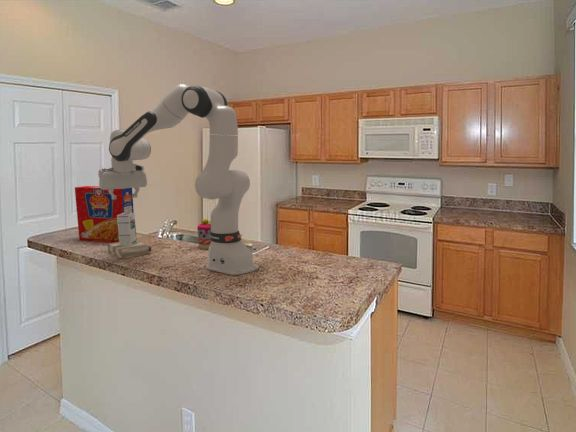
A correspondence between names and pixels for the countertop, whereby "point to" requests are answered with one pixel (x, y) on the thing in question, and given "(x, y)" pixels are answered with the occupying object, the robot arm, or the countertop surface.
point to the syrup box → (126, 229)
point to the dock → (128, 250)
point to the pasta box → (101, 212)
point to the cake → (204, 234)
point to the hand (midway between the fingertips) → (124, 198)
